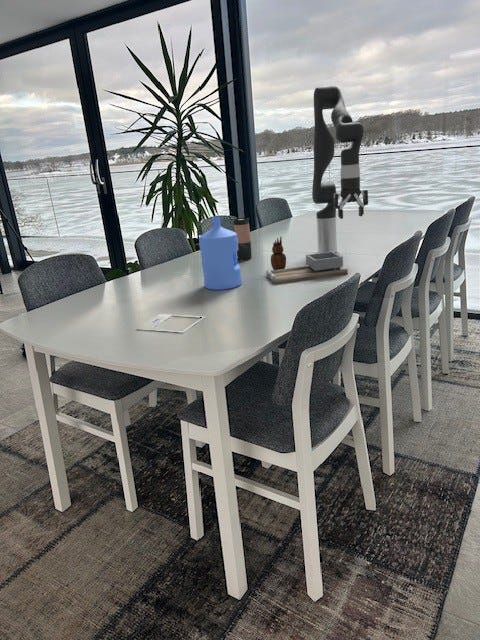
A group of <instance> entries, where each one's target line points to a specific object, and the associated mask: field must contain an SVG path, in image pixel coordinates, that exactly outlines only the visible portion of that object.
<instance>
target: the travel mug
mask: <svg viewBox="0 0 480 640" xmlns="http://www.w3.org/2000/svg"><path fill="white" fill-rule="evenodd" d="M250 228H251V227H250V219H249V217H237V218H234V219H233V229H234V231H233V232H235V233H237V238H238V251H237V252H236V255H237V261H248V260H252V240H251V233H250V232H251V229H250Z"/></svg>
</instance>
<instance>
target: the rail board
mask: <svg viewBox="0 0 480 640" xmlns="http://www.w3.org/2000/svg"><path fill="white" fill-rule="evenodd" d="M340 268H341V269H340V270H336V268H330V269H323V270H319V271H320V272H318V273H315V270H313V269H310V268H309V266H308V265H305V266H304V265H303V266H297V267H290V268H285V269H280V270H274V269H273V270H270V269H266V277H267V278H268V279H269V281H270V282H271V283H272V284H273V285H277V284H278V285H279V284H287V283H293V282H299V281H300V282H302V281H308V280H315V279H324V278H329V277H331V278H332V277H337V276H343V275H345V276H346V275H348V273H349V271H348V268H344V267H340Z"/></svg>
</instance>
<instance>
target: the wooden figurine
mask: <svg viewBox="0 0 480 640" xmlns="http://www.w3.org/2000/svg"><path fill="white" fill-rule="evenodd" d="M282 242H283V241H282V236H280V238H279V237H277V238H276V239H275V241H274V242H273V244H272V247H271V251H272V254H271V256H270V266H271V268H272V269H273V270H280V269H286V266H287V256H286V254H285V253H284V246H283V243H282Z"/></svg>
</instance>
